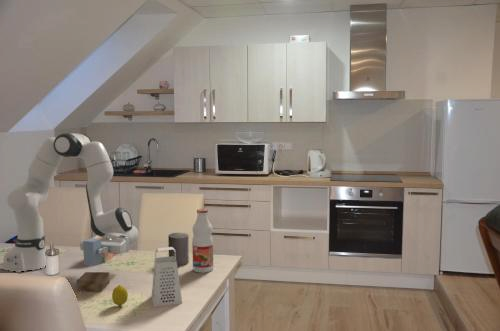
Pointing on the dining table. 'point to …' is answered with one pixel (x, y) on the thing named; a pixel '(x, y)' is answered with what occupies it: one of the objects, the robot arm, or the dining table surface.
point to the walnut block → (93, 282)
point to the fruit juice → (202, 243)
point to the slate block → (92, 252)
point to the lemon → (119, 295)
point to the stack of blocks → (105, 255)
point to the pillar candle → (179, 247)
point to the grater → (166, 280)
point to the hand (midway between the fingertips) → (91, 251)
